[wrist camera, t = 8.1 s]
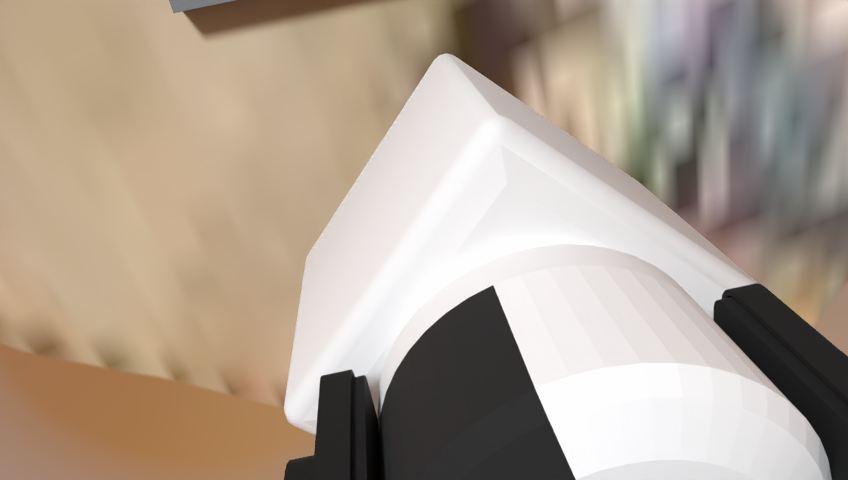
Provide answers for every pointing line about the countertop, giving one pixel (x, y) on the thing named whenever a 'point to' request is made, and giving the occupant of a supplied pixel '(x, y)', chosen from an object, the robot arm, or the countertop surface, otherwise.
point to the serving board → (193, 4)
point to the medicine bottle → (531, 311)
